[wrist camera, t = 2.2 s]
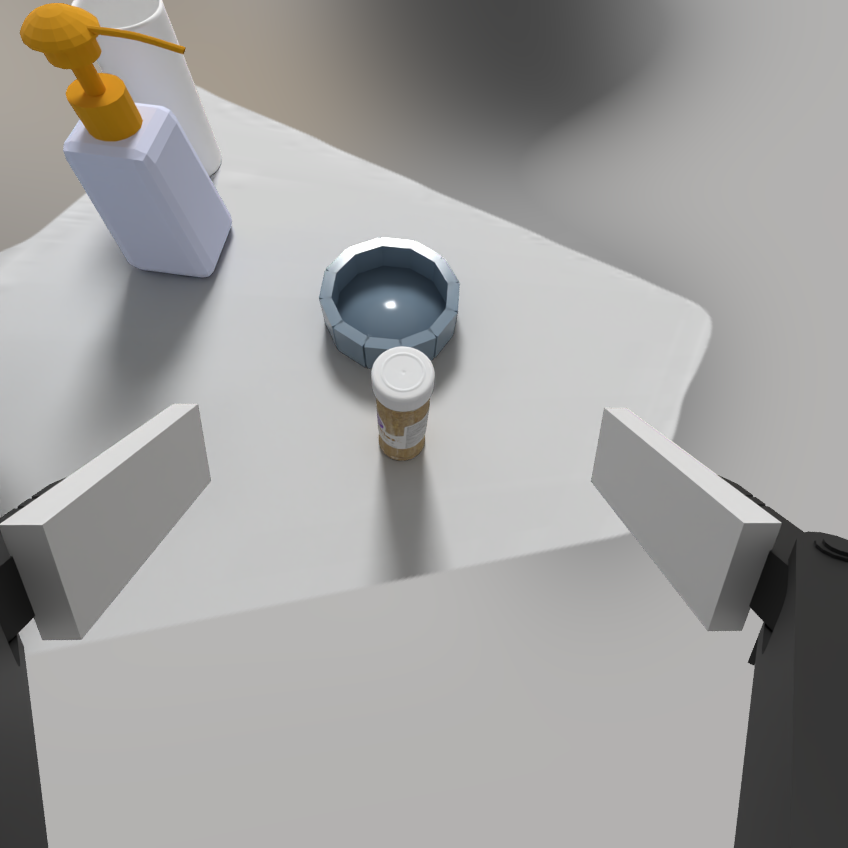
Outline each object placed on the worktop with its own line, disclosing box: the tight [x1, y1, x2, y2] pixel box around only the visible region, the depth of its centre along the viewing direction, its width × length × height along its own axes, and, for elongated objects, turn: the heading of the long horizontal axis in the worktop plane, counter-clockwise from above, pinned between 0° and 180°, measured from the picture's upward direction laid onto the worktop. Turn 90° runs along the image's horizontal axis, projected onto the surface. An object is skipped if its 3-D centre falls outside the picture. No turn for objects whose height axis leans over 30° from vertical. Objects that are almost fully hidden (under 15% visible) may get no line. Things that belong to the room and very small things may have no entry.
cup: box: [71, 0, 222, 176], centre depth 50 cm, size 8×8×16 cm
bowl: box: [319, 237, 460, 369], centre depth 48 cm, size 14×14×4 cm
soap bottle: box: [20, 3, 232, 278], centre depth 42 cm, size 10×14×22 cm
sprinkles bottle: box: [371, 346, 435, 460], centre depth 38 cm, size 5×5×14 cm
